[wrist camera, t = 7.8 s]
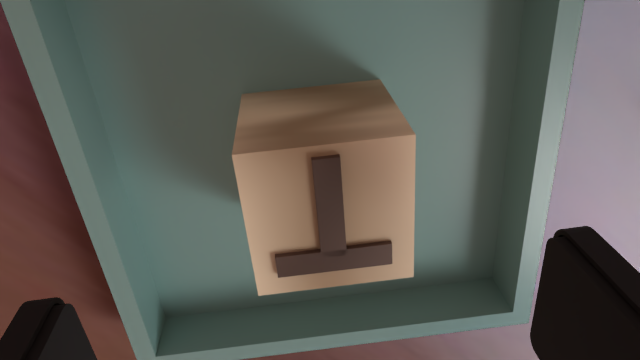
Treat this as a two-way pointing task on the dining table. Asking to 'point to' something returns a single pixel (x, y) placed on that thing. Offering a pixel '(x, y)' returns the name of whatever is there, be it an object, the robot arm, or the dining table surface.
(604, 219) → the dining table surface
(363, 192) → the letter cube
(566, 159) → the dining table surface
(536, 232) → the green tray
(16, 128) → the dining table surface
